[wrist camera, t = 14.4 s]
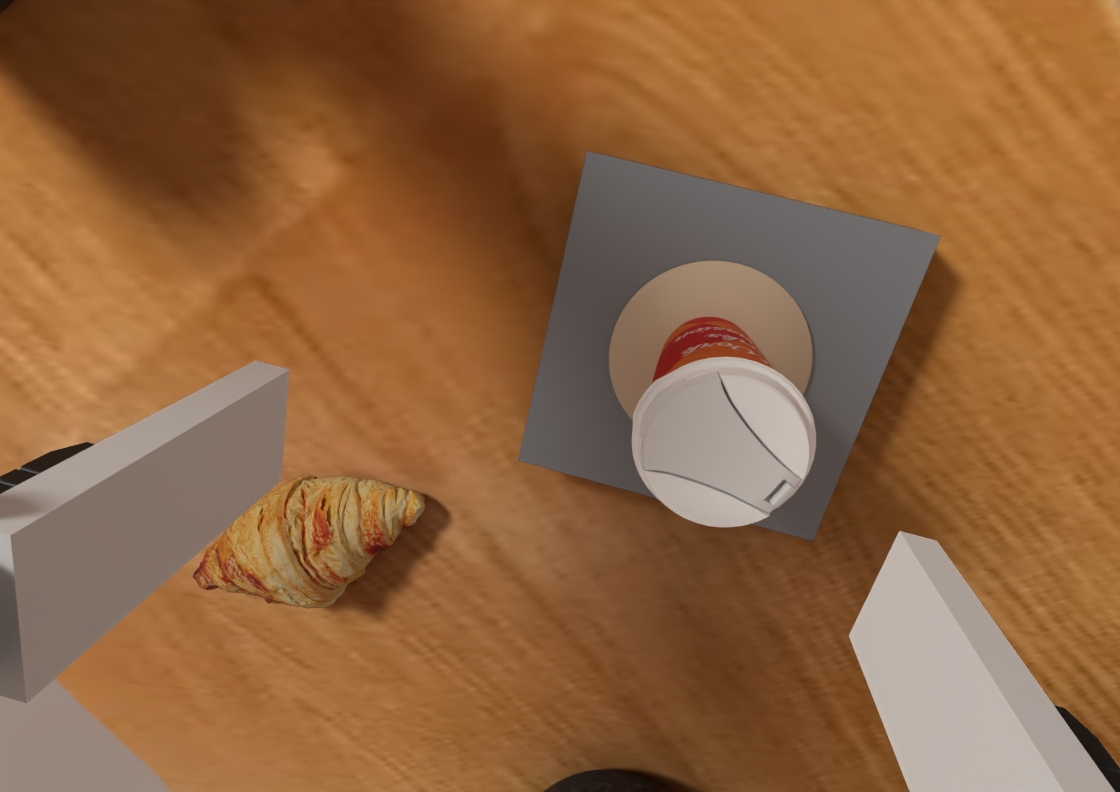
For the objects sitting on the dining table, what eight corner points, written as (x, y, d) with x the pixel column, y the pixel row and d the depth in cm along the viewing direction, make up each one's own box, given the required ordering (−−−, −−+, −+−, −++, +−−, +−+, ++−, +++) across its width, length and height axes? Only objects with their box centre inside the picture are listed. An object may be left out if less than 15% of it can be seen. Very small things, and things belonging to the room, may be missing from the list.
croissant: (427, 440, 54) (371, 433, 47) (460, 563, 52) (407, 575, 45) (223, 520, 60) (143, 525, 52) (245, 635, 57) (164, 657, 50)
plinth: (529, 437, 49) (516, 463, 45) (594, 152, 42) (586, 151, 38) (801, 511, 48) (814, 544, 43) (916, 228, 40) (943, 236, 36)
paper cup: (800, 347, 39) (865, 439, 26) (718, 443, 42) (739, 570, 29) (692, 270, 39) (704, 325, 26) (616, 372, 42) (591, 469, 29)
